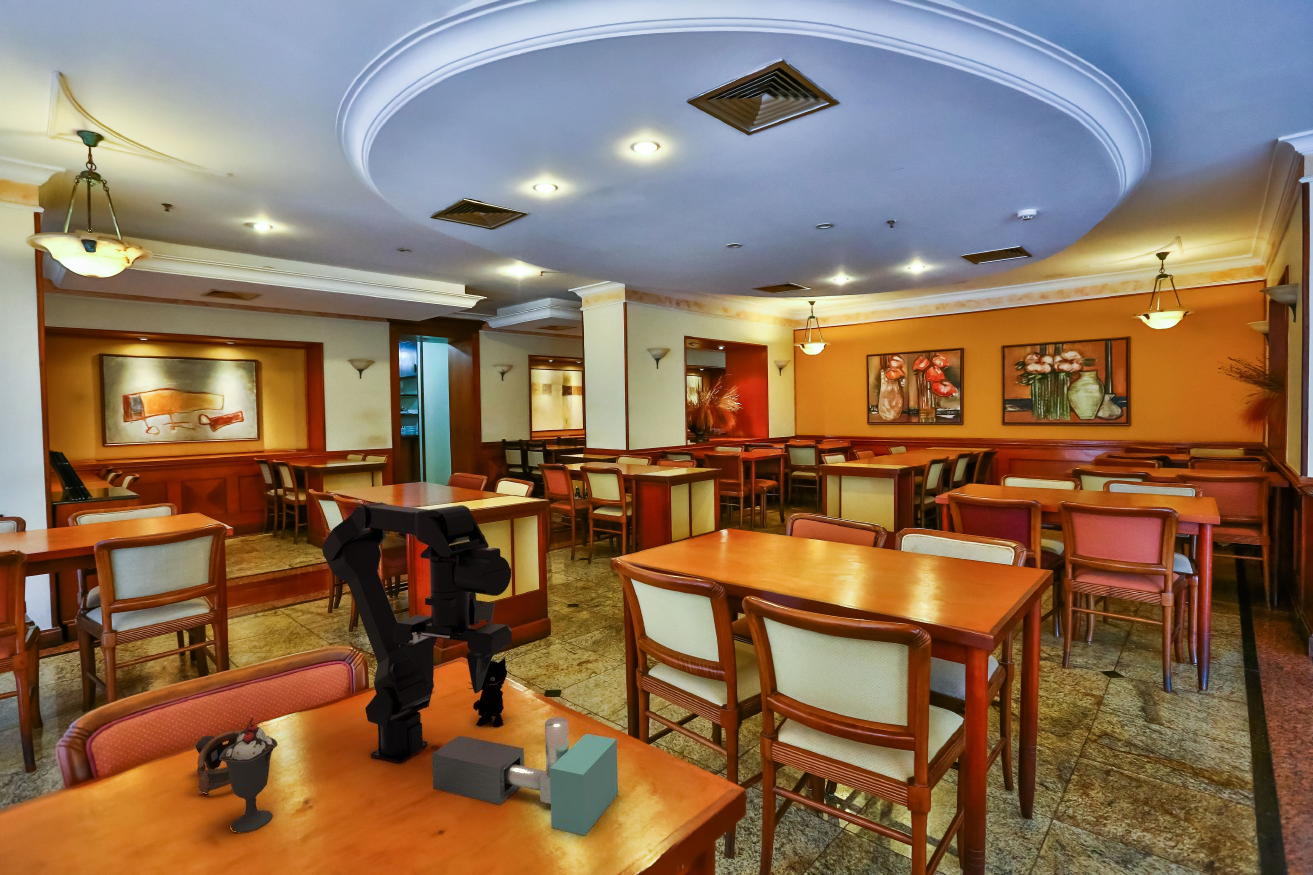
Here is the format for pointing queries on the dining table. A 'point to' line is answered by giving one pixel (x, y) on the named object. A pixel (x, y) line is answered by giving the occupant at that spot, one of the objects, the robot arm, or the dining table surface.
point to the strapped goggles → (213, 760)
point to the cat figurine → (492, 695)
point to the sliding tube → (554, 751)
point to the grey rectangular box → (475, 768)
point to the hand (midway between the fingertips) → (453, 688)
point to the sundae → (249, 774)
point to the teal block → (583, 784)
